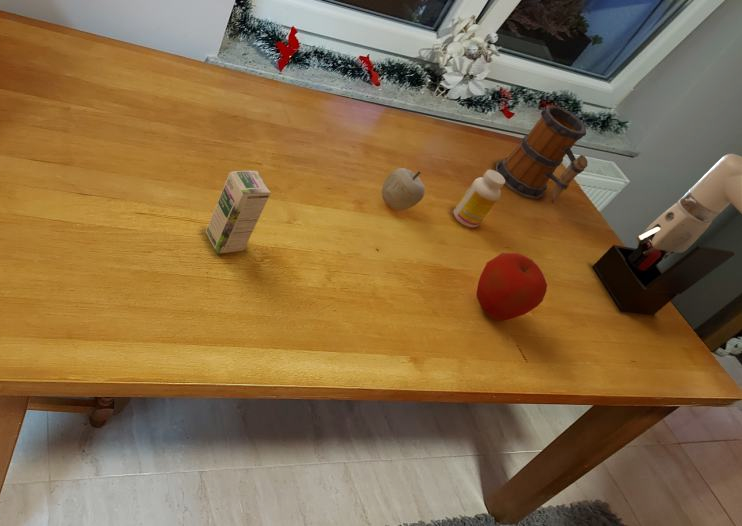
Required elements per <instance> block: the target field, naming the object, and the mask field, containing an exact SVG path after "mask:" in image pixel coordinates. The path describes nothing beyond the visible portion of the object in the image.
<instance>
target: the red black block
mask: <svg viewBox="0 0 742 526" xmlns="http://www.w3.org/2000/svg"><path fill="white" fill-rule="evenodd" d="M647 245H648V248H649V247H650V246H651V244H650V243H647ZM647 256H648V257H647V258H646V259H645V260H644V261H643V262H642V263H641V264H640V265H639V266H638V267H637V268H638V269H639V270H642V271H645V270H646V269H648V268H649V267H650V266H651V265H652V264H653V263H654V262H655V261H656V260H657V259H658V258H659V257H660V256H661V252H660V250H658V249H654V250H653V251H651V252H650V253H649V254H648V255H647Z"/></svg>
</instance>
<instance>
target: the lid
mask: <svg viewBox="0 0 742 526" xmlns="http://www.w3.org/2000/svg"><path fill="white" fill-rule="evenodd" d="M735 255H736V253H735V251H732V250H726V249H722V248H715V247H709V246H704V245H700V244H699V245H697V246H696V247H694V248H693V249H691V251H689V252H688V253H687V254H685V255H684V256H682V257H681V258H680V259H679V260H677V261H676V262H675V263H673V264H672V265H671V266H670V267H668V268H667V269H666V270H665V271H662V274H661V275H659V276H658V277H657V278H656V279H654V280H653V281H652V282H650V283H649V284H648V285H647V286H645V288H646V289H647V290H654V291H662V292H669V293H676V294H678V295H681V294H683V293H684V292H685V291H687V290H688V289H689V288H691V287H693V286H694V285H695V284H697V283H698V282H699V281H701V280H702V279H704V278H705V277H706V276H708V275H710V274H711V272H713V271H715V270H716V269H717V268H718V267H720V266H721V265H722V264H724V263H726V262H727V261H728V260H729V259H731V258H732V257H734V256H735Z"/></svg>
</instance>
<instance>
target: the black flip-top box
mask: <svg viewBox="0 0 742 526" xmlns="http://www.w3.org/2000/svg"><path fill="white" fill-rule="evenodd" d="M635 249H637V248H635V247H630V246H623V245H618V244H613V245H612V246H611V247H609V249H607V251H606V252H605V253H603V255H602V256H601V257H599V259H597V261H596V262H595V263H594V264H593V265H592V266H591V268H592V270H593V272H594V273H595V275H596V276H597V278H598V279H599V281H600V282H601V284H602V285H603V287H604V289H605V290H606V292H607V294H608V296H609V297H610V298H611V300H612V301H613V303H614V304H615V306H616V308H617V309H618V311H619V312H621V313H629V314H630V313H631V314H639V315H646V316H655V315H656V314H657V313H658V312H660V310H662V309H663V308H664V307H665V306H666V305H667V304H668V303H670V302H671V301H672V300H674V298H676V297H677V296H678V295H679V294H676V293H669V292H662V291H654V290H647V289H646V288H645V286H647V285H648V284H649V283H650V282H652V281H653V280H654V279H656V278H657V277H658V276H659V275H661V274H662V273H663V271H662V270H661V269H660V267H659V266H658V264H657V265H656V266H655V267H654V268H653V269H652V270H648V269H646V270H645V271H642V270H639V269H638V268H634V267H633V266H632V264H631V263H630V262H629V260H628V256H629V255H630V254H631V253H632V252H633V251H634V250H635Z"/></svg>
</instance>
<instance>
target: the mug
mask: <svg viewBox="0 0 742 526" xmlns="http://www.w3.org/2000/svg"><path fill="white" fill-rule="evenodd" d="M540 114H541V116H540V118H539V119H538V121H536V123H535V125H534V126H533V127H532V129H531V130H530V132H529V133H528V134H525V135H524V137H523V138H522V139H521V141H520V142H519V144H518V145H517V146H516V147H515V148H514V150H512V151H511V152H510V153H509V155H508V156H506V157H504V158H503V159H502V160H501V161H499V162H497V163H495V170H494V171H496V172H498V173H500V174H501V175H502V176H503V177H504V179H505V183H504V185H505V186H506V187H508V188H509V189H510V191H512V192H515V193H517V194H519V195H520V196H522V197H525V198H528V199H534V200H537V199H539V198H541V197H543V196H544V194H545V191H547V189H548V186H547V184H548V182H549V181H550V180H552V181H553V182H554V183H555V187H554V189H553V191H552V194H551V204H554V203H555V202H556V200H557V199H558V198H559V196H560V195H561V194H563V191H565V190H567V189H568V187H569V185H570V184H571V182H572V181H573V180H574V179H575V178H576V177H577V176H578V175H580V174H581V173H582V172H584V171H585V169H586V168H587V167H588V159H587V157H586V156H585V155H583V154H581V155H579V156H578V157H577V158H576V157H575V154H574V153H573V151H572V148H573V146H575V144H576V143H577V142H578V141H580V140H581V139H582V138H583V137H585V136H586V135H587V126H586V125H585V124H584V122H583V121H582V120H581V118H579V117H578V116H577V115H576V114H574V113H573V112H571V111H570V110H568V109H565V108H564V107H562V106H557V105H553V104H552V105H551V104H550V105H548V106H546V107H545V108H544V109H542V110H541V112H540ZM565 156H567V158H568V159H569V161H570V163H569V165H568V166H567V168H566V169H565V170H564V171H563V172H562V173H561V175H560V177H558V176H556V175H554V173H555V171H556V170H557V168H558V167H559V166H560V165H561V164H562V162H563V161H564V157H565Z"/></svg>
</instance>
